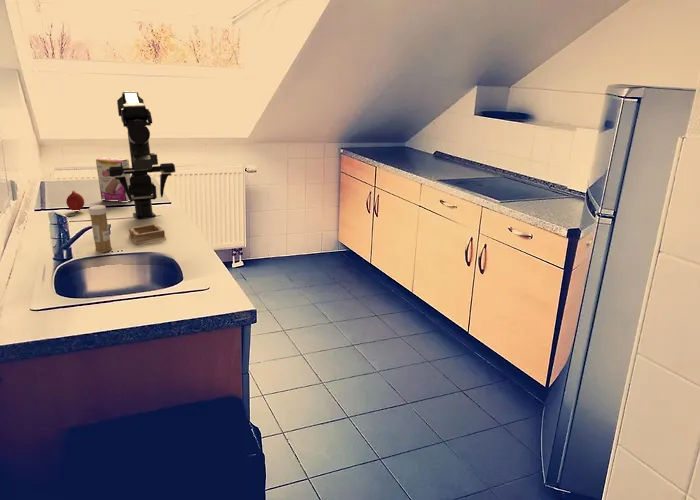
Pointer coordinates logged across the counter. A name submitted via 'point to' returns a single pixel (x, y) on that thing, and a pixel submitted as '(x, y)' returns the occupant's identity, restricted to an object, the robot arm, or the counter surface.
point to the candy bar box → (111, 179)
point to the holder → (146, 234)
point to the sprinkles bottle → (100, 228)
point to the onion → (75, 201)
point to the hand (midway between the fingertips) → (146, 198)
